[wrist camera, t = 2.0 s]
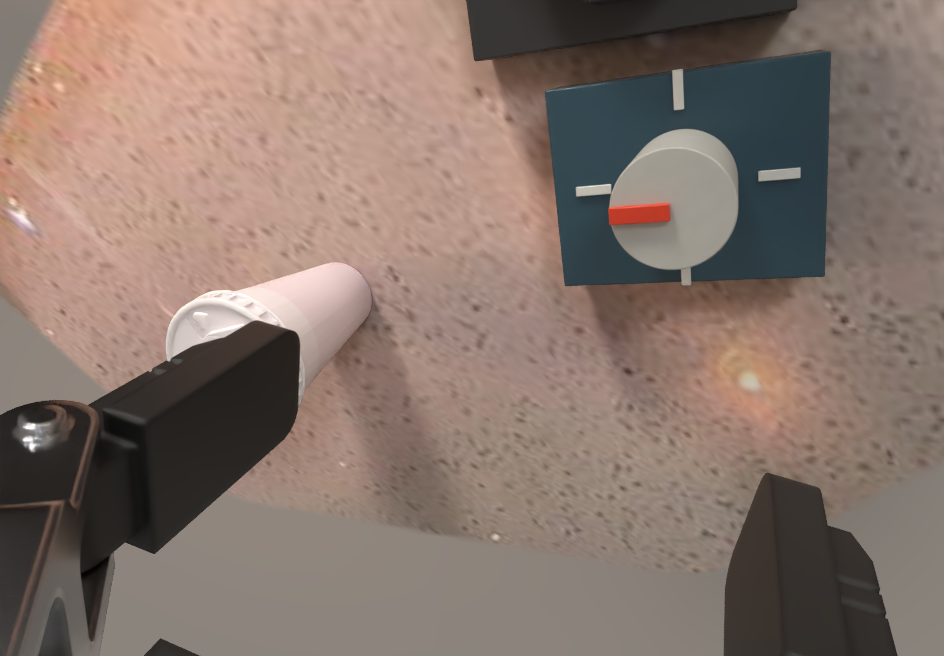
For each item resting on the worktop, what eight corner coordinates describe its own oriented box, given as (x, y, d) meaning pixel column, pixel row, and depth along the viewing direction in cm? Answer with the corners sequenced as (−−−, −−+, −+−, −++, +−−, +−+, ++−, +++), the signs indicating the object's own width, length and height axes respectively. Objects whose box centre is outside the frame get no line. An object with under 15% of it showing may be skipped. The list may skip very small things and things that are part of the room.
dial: (737, 122, 25) (737, 141, 21) (738, 230, 27) (739, 270, 22) (625, 135, 27) (602, 155, 22) (632, 236, 28) (612, 275, 24)
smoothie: (413, 279, 36) (246, 404, 23) (368, 371, 39) (200, 524, 27) (311, 214, 36) (95, 303, 24) (274, 310, 39) (67, 432, 27)
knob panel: (821, 46, 26) (831, 47, 24) (816, 257, 29) (825, 280, 26) (561, 84, 30) (543, 88, 27) (578, 268, 33) (564, 290, 30)
